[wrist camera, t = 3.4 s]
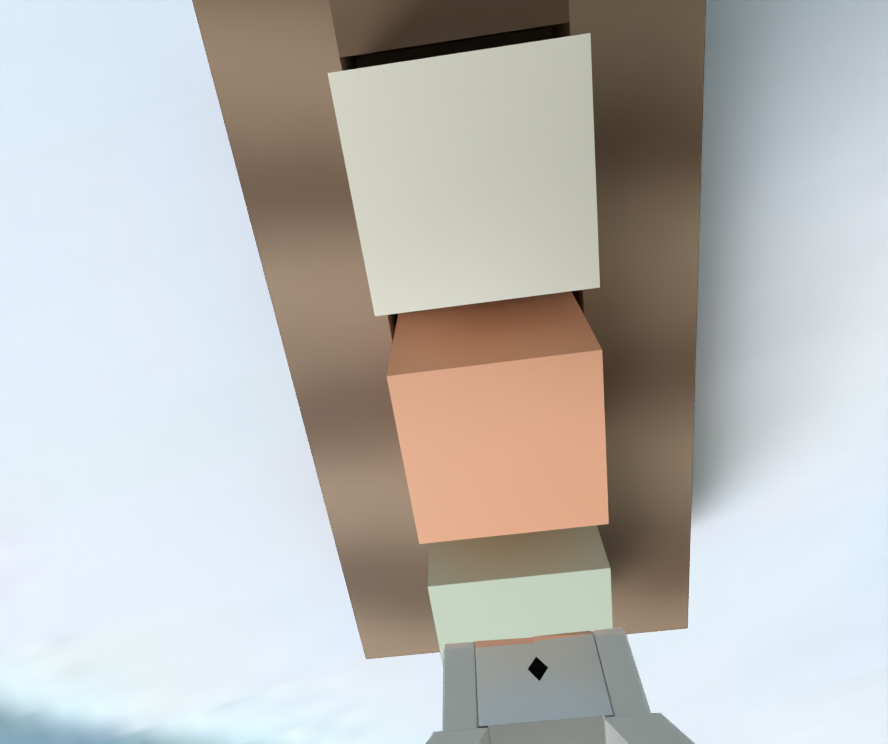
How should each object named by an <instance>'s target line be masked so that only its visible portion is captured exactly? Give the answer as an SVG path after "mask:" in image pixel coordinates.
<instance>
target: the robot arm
mask: <svg viewBox="0 0 888 744" xmlns="http://www.w3.org/2000/svg"><path fill="white" fill-rule="evenodd" d="M426 744H695V743H694V742H693V741H691V740H690V739H689V738H688V737H687V736H686V735H685V734H684V733H682V732H681V731H680V730H679V729H678V728H677V727H676V726H675V725H674V724H672V723H671V722H670V721H669V720H668V719H667V718H666V717H665V716H663V715H662V714H661V713H651V712H650V709H649V705H648V702H647V699H646V696H645V693H644V690H643V686H642V683H641V680H640V677H639V674H638V671H637V667H636V664H635V661H634V658H633V655H632V651H631V648H630V645H629V642H628V639H627V636H626V632H625V631H624V630H623V629H622V628H613V629H603V630H593V631H592V632H591V631H581V632H572V633H562V634H553V635H543V636H534V637H530V638H516V639H501V640H486V641H475V642H464V643H450V644H445V648H444V655H443V731H439V732H433V734H432V735H431V737H430V738H429V740H428V741H427V743H426Z"/></svg>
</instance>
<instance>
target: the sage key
mask: <svg viewBox="0 0 888 744" xmlns="http://www.w3.org/2000/svg"><path fill="white" fill-rule="evenodd" d="M428 592H429V597H430V602H431V607H432V612H433V617H434V623H435V628H436V633H437V638H438V643H439V648H440V653H441V659H442V664H443V655H444V648H445V644H450V643H464V642H475V641H486V640H501V639H516V638H530V637H534V636H543V635H553V634H562V633H572V632H581V631H591V632H592V631H593V630H603V629H613V623H612V596H611V569H610V565H609V562H608V559H607V556H606V553H605V549H604V546H603V543H602V540H601V537H600V534H599V531H598V527H597V525H594V526H585V527H575V528H566V529H557V530H547V531H538V532H528V533H519V534H509V535H500V536H491V537H481V538H472V539H462V540H453V541H444V542H434V543H429V560H428Z"/></svg>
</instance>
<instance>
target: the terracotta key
mask: <svg viewBox="0 0 888 744" xmlns="http://www.w3.org/2000/svg"><path fill="white" fill-rule="evenodd" d="M387 381H388V386H389V392H390V397H391V402H392V407H393V412H394V417H395V422H396V428H397V433H398V438H399V443H400V448H401V453H402V458H403V463H404V469H405V474H406V479H407V484H408V489H409V494H410V499H411V505H412V510H413V515H414V520H415V525H416V530H417V535H418V540H419V544H425V543H434V542H444V541H453V540H462V539H472V538H481V537H491V536H500V535H509V534H519V533H528V532H538V531H547V530H557V529H566V528H575V527H585V526H594V525H604V524H609V516H608V489H607V463H606V436H605V409H604V382H603V356H602V348H601V346H600V345H599V343H598V341H597V339H596V337H595V335H594V333H593V331H592V329H591V327H590V326H589V324H588V322H587V320H586V318H585V316H584V314H583V312H582V310H581V308H580V307H579V305H578V303H577V301H576V299H575V297H574V295H573V293H572V291H569V292H561V293H553V294H545V295H538V296H530V297H522V298H514V299H506V300H499V301H491V302H483V303H475V304H468V305H460V306H452V307H444V308H436V309H429V310H421V311H413V312H405V313H398V318H397V323H396V328H395V334H394V339H393V344H392V350H391V355H390V360H389V366H388V371H387Z"/></svg>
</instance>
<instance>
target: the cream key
mask: <svg viewBox="0 0 888 744" xmlns="http://www.w3.org/2000/svg"><path fill="white" fill-rule="evenodd" d="M328 78H329V84H330V89H331V94H332V99H333V104H334V109H335V114H336V119H337V125H338V130H339V135H340V140H341V145H342V150H343V155H344V161H345V166H346V171H347V176H348V181H349V186H350V191H351V196H352V202H353V207H354V212H355V217H356V222H357V227H358V232H359V238H360V243H361V248H362V253H363V258H364V263H365V268H366V273H367V279H368V284H369V289H370V294H371V299H372V304H373V309H374V315H375V316H382V315H390V314H398V313H405V312H413V311H421V310H429V309H436V308H444V307H452V306H460V305H468V304H475V303H483V302H491V301H499V300H506V299H514V298H522V297H530V296H538V295H545V294H553V293H561V292H569V291H577V290H584V289H592V288H600V276H599V249H598V222H597V196H596V169H595V142H594V116H593V89H592V62H591V35H590V33H587V34H580V35H574V36H567V37H561V38H554V39H548V40H541V41H535V42H528V43H521V44H515V45H508V46H502V47H495V48H489V49H482V50H476V51H469V52H462V53H456V54H449V55H443V56H436V57H430V58H423V59H417V60H410V61H403V62H397V63H390V64H384V65H377V66H371V67H364V68H358V69H351V70H345V71H338V72H331V73H328Z"/></svg>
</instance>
